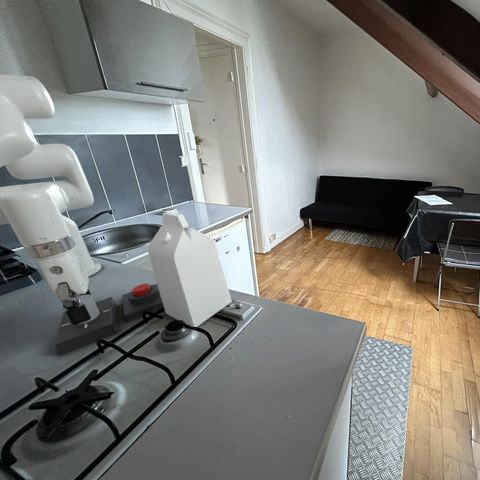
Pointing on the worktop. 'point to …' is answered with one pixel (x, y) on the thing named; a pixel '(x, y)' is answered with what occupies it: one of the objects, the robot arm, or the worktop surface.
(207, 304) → the milk
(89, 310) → the knob
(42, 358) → the worktop surface
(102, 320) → the panel
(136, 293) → the power button
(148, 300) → the power block
